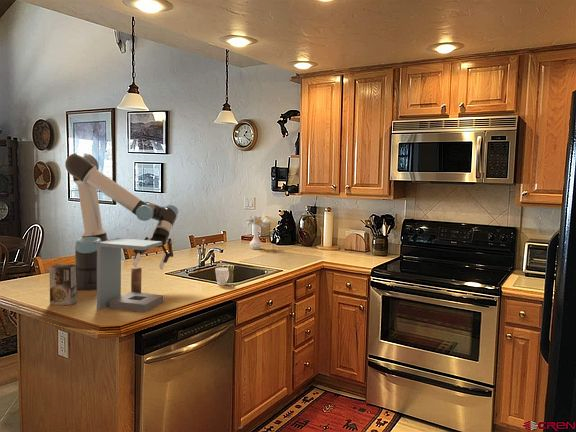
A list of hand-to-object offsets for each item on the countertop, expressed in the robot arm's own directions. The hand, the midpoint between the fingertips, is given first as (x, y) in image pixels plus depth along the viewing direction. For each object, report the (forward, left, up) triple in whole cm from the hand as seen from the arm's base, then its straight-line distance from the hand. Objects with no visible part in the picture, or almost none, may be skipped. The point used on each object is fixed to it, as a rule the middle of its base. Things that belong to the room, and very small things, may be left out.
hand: (147, 266), depth 226 cm
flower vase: (+11, +143, -12) cm, 144 cm away
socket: (+8, -23, -11) cm, 27 cm away
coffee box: (-22, -31, -12) cm, 40 cm away
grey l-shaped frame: (+7, -27, -11) cm, 30 cm away
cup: (+28, +27, -12) cm, 41 cm away
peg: (-2, -7, -11) cm, 14 cm away
